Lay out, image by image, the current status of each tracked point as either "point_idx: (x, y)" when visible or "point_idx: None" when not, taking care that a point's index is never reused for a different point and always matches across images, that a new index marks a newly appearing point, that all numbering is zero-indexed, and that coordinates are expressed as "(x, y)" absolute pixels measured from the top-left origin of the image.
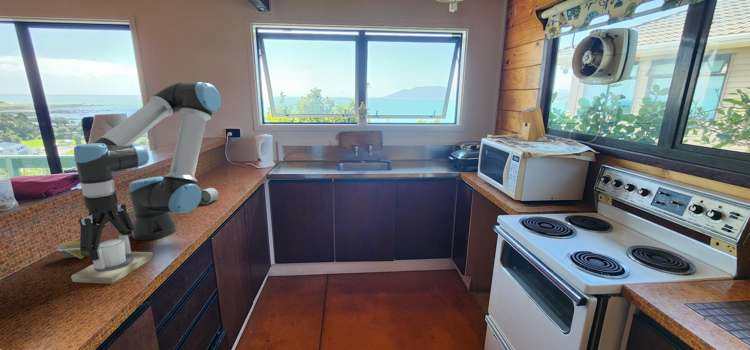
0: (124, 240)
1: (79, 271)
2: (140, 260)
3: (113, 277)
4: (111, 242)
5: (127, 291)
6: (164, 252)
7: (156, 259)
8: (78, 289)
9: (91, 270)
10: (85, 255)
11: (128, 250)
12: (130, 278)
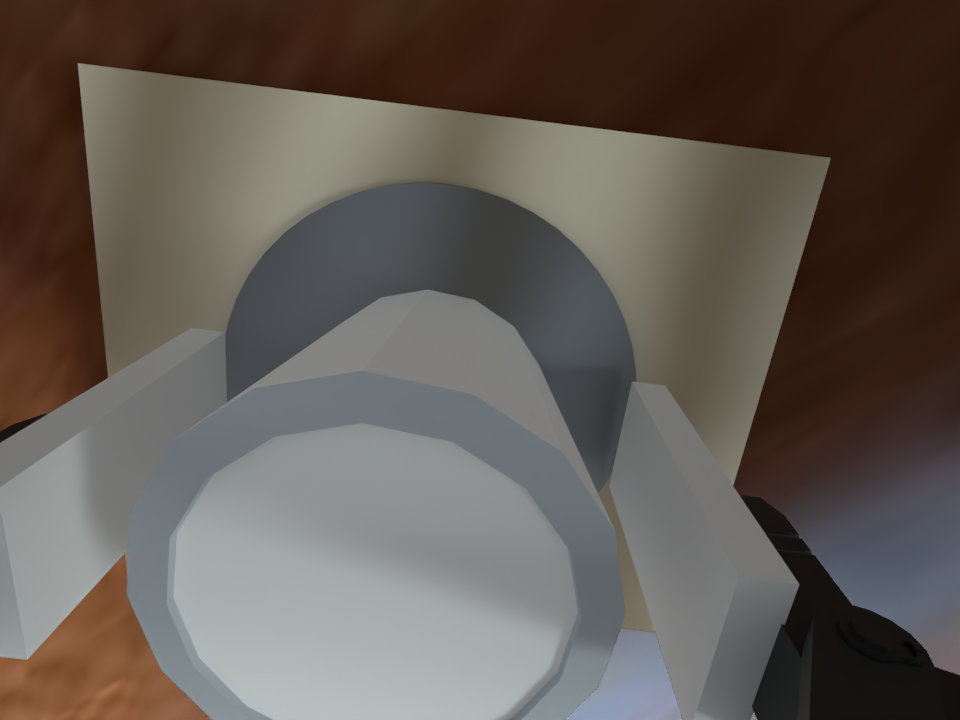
0: (672, 596)
1: (199, 80)
2: None
3: None
4: (402, 599)
5: (85, 694)
6: None
7: (622, 633)
8: (23, 281)
9: (240, 234)
10: None
11: (620, 506)
12: None
